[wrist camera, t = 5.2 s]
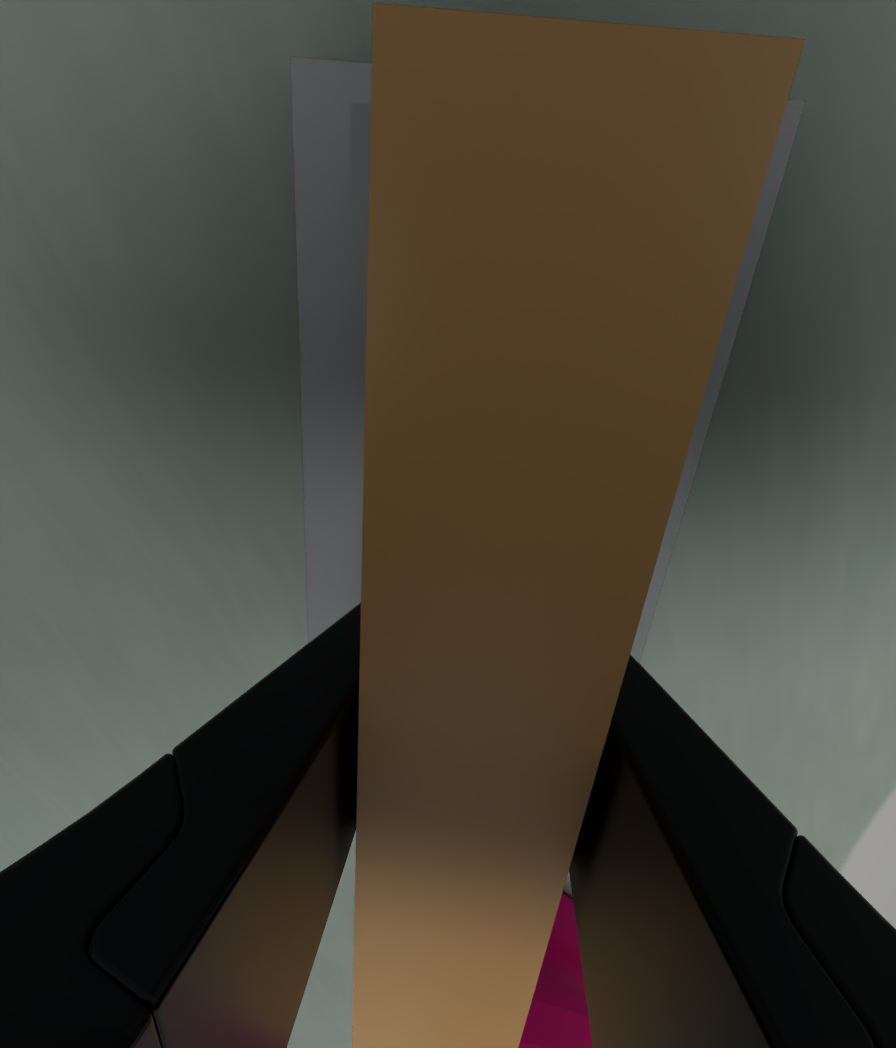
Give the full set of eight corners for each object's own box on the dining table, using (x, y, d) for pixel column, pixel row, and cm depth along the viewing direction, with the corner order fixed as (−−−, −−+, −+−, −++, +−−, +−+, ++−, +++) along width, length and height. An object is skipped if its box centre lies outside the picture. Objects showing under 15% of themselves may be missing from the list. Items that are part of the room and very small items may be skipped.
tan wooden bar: (507, 862, 12) (508, 1097, 9) (389, 846, 12) (348, 1073, 9) (660, 121, 6) (813, 39, 3) (434, 100, 6) (364, 1, 3)
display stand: (621, 680, 18) (656, 834, 14) (318, 642, 18) (258, 782, 14) (782, 108, 11) (953, 51, 7) (306, 66, 12) (186, -13, 7)
